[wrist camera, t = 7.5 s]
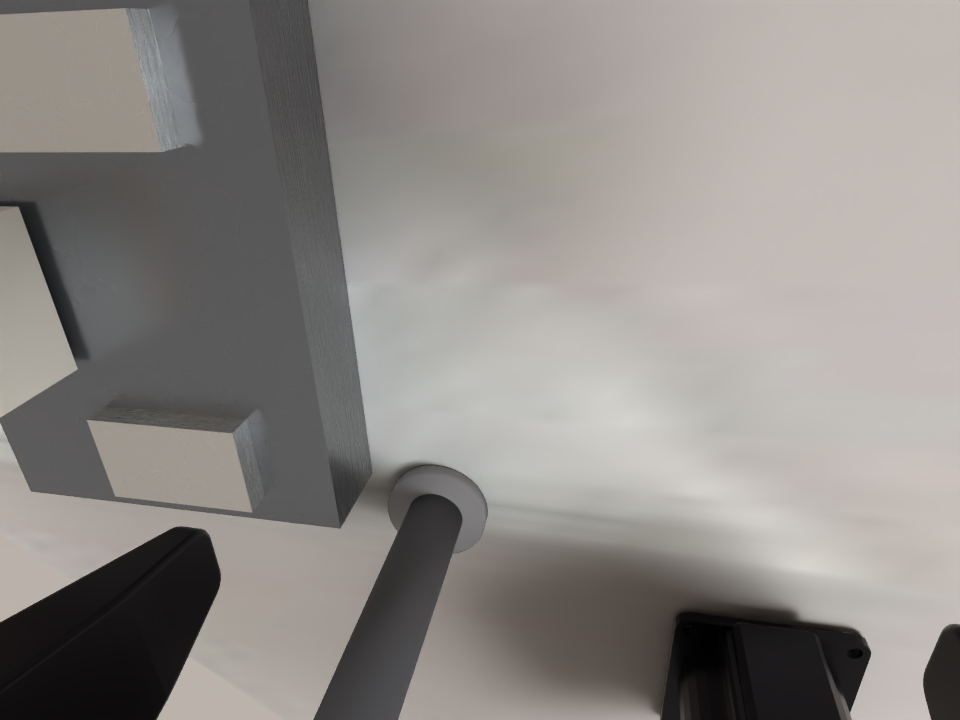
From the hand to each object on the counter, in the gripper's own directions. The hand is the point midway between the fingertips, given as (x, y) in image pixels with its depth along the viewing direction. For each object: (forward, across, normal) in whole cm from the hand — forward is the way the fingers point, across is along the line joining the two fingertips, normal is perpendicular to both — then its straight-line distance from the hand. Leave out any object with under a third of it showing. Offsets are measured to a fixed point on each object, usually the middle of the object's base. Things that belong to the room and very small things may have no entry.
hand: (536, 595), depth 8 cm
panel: (+12, +14, 0) cm, 18 cm away
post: (+12, +5, +9) cm, 16 cm away
